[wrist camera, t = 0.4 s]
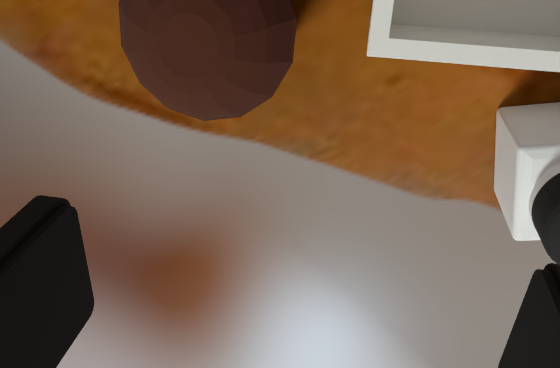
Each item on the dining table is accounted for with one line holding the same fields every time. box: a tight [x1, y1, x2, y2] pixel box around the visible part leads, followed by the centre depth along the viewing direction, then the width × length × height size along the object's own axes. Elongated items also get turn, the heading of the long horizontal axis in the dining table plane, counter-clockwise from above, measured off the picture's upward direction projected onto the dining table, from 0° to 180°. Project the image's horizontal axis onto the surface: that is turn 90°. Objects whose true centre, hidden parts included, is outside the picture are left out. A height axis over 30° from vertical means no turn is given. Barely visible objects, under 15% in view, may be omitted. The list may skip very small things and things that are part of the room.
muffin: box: [119, 0, 297, 121], centre depth 33 cm, size 12×11×10 cm
